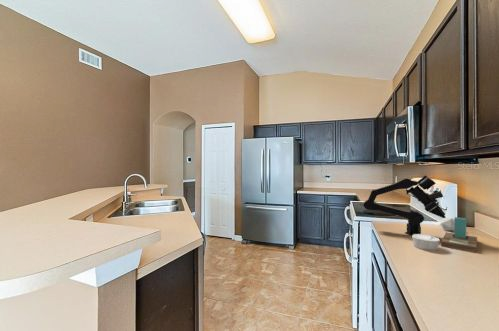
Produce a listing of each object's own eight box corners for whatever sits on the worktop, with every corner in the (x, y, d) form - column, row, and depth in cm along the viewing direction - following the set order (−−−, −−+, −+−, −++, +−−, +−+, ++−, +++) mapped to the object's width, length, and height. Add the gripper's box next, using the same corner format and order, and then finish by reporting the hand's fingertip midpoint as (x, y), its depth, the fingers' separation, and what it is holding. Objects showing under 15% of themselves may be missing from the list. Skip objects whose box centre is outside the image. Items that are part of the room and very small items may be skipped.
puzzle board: (476, 252, 113) (476, 247, 113) (441, 246, 122) (441, 241, 122) (477, 241, 128) (477, 236, 128) (446, 236, 137) (445, 232, 137)
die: (454, 234, 144) (463, 221, 144) (438, 225, 148) (447, 213, 149) (450, 235, 151) (458, 223, 151) (435, 227, 155) (443, 215, 156)
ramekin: (444, 252, 114) (444, 241, 114) (418, 250, 116) (418, 240, 116) (431, 244, 125) (431, 234, 125) (408, 243, 127) (408, 233, 127)
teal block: (465, 243, 126) (465, 219, 126) (454, 241, 129) (454, 218, 129) (466, 241, 129) (466, 218, 129) (455, 239, 132) (455, 217, 132)
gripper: (432, 187, 129) (459, 209, 122) (433, 184, 144) (457, 204, 137) (414, 200, 134) (439, 222, 127) (417, 196, 149) (439, 216, 142)
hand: (444, 216), depth 133 cm, fingers open, 9 cm apart
